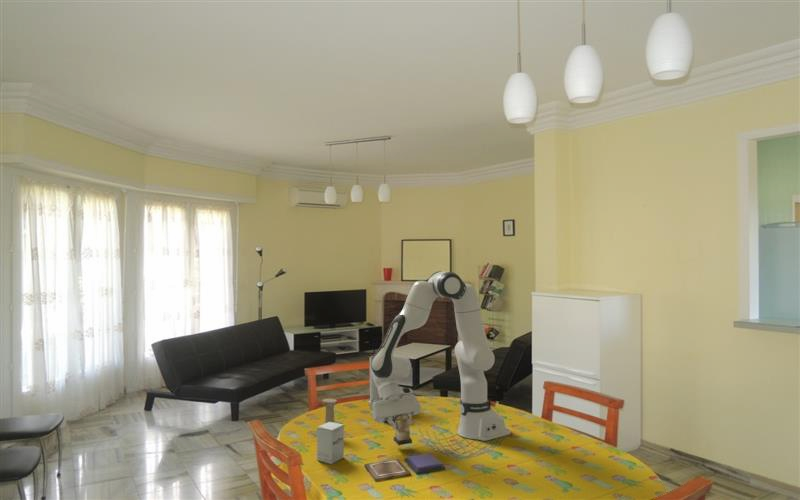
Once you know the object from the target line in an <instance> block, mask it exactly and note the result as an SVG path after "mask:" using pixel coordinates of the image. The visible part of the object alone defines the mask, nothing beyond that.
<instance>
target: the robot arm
mask: <svg viewBox="0 0 800 500" xmlns="http://www.w3.org/2000/svg"><path fill="white" fill-rule="evenodd" d="M437 298H446V299H451V301H452V304H453V308H454V309H453V311H454V317H455V323H456V324H455V325H456V331H457V333H458V334H459V338H460V339H461V340H459V341H458V342H457V343H456V344H455V346H454V355H455V357H456V361H457V362H456V363H457V366H458V367H457V368H458V372H459V379H460V399H459V412H460V419H459V420H460V421H459V425H458V430H457V435H459V436H460V437H463V438H466V439H469V440H470V439H471V440H479V441H483V442H484V441H485V442H486V441H489V440H493V439H498V438H502V437H506V436H509V435H511V434H512V433H511V429H510V428H509V427H507V426H506V425H505V424H506V423H505V419H504V417H503V416H502V415H500V414H499V413H498V412H497V411H495V410H494V409H492V408H495V407H496V405H497V403H496V402H495V401H493V400H489V399H488V380H487V379H486V376H485V372H486V371H488V370H490V369H492V368H493V365H494V364H495V360H496V359H495V358H496V357H495V354H494V352H493V351H492V349H491V347H490V343H489V341H488V338H487V334H486V331H485V329H484V328H485V327H484V324H483V318H482V310H481V303H480V300H479V295H478V293H477V290H476V287H475V286H474V285H472V284H470V283H465V282H464V281H463V279H462V278H461V277H460V276H459V274H457V273H456V272H452V271H448V270H443V271H441V270H440V271H439V270H438V271H436V272H434V273H433V274H432V275H430V277H428V278H427V279H426V280H417V281H416V282H413V285H412V286H411V287H410V290H409V292H408V294H407V297H406V300H405V301H404V305H403V307H402V310H401V311H400V312H399V314H398V315H396V316H395V317H394V318H393V320H392V322H391V323H390V325H389V327H388V329H387V331H386V333H385V335H384V337H383V340H382V342H381V344H380V346H379V348H378V349H377V351H376V353H375V354H374V355H373V356H374V357H373V359H372V362H371V372H372V377H373V380H374V383H375V385H376V387H377V388H378V393H379V396H380V398H377V399H372V400H371V401H370V400H369V408H370V410H371V413H372V418H373V420H374V422H376V423H382V422H387V423H388V424H389V425H390V426H392V428H393V430H395V429H398V425H397V423H395V421H394V420H395V419H398V415H406V416H407V419H408V420H409V423H410V427H412V425H413V423H412V416H415V415H418V414H420V412H421V409H422V407H421V406H422V405H421V404H420V402H419V400H418V398H417V396H416V395H414V394H413V389H412V388H409V387H403V386H400V385H399V383H400V382H402V381H405V380H406V379H407V378H408V377H409V376H410V375H411V373H412V369H413V366H412V362H411V360H410V358H408V357H407V356H404V355H402V354H401V355H399V354H394V353H395V350H396V348H397V346H398V344H399V342H400V340H401V337H402V336H403V335H404V334H405V333H407V332H409V331H411V330H416V329H419V328H422V327H423V326H424V325H425V324H426V323H427V321H428V319H429V317H430V313H431V310H432V306H433V304H434V302H435V300H436V299H437ZM392 419H394V420H392Z"/></svg>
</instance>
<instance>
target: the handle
mask: <svg viewBox="0 0 800 500" xmlns="http://www.w3.org/2000/svg"><path fill="white" fill-rule="evenodd" d="M321 403H322V405H325V406H324V407H325V418H324V424H325V423H328V422H333V423H336V422H335V409H334V408H335V406H336V405H337V404H338V400H337V399H335V398H324V399H322V400H321Z"/></svg>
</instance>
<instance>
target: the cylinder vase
mask: <svg viewBox="0 0 800 500" xmlns="http://www.w3.org/2000/svg"><path fill="white" fill-rule="evenodd" d="M373 357H374V355H372V356H369V402H370V401H371V400H372V399H377V398H380V396H379V393H378V388H377V387H376V385H375V383H374V380H373V377H372V372H371V362H372V359H373Z"/></svg>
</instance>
